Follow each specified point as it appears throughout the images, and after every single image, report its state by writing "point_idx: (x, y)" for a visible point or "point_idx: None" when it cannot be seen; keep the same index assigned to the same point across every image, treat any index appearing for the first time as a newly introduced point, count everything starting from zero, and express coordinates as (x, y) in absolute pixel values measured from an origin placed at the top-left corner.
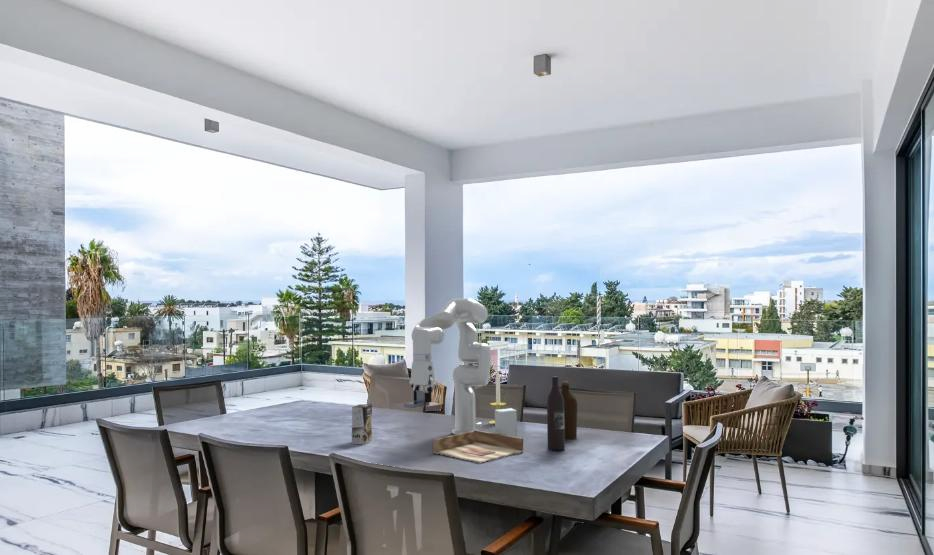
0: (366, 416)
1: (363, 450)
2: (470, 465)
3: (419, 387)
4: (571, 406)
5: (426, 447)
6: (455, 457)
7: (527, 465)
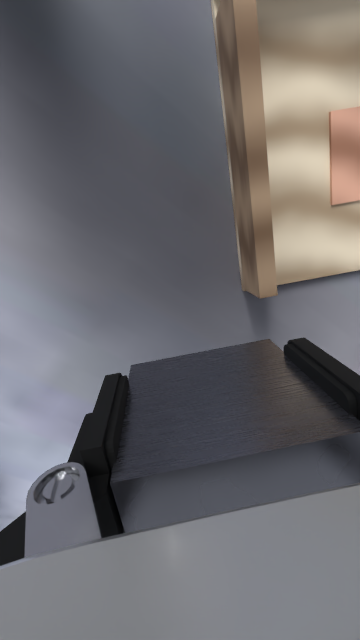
0: None
1: (47, 453)
2: None
3: (94, 514)
4: None
5: (137, 251)
6: (358, 269)
7: None
